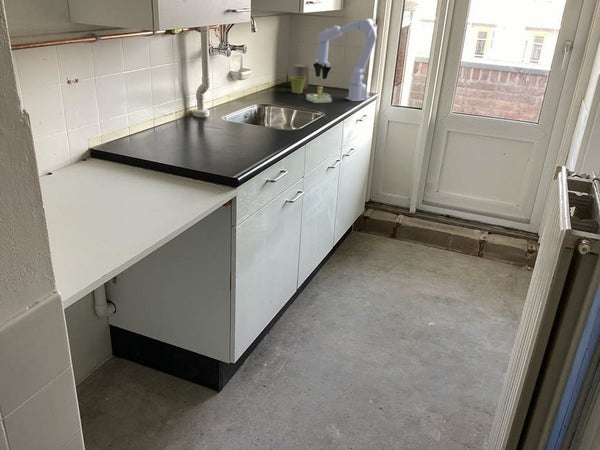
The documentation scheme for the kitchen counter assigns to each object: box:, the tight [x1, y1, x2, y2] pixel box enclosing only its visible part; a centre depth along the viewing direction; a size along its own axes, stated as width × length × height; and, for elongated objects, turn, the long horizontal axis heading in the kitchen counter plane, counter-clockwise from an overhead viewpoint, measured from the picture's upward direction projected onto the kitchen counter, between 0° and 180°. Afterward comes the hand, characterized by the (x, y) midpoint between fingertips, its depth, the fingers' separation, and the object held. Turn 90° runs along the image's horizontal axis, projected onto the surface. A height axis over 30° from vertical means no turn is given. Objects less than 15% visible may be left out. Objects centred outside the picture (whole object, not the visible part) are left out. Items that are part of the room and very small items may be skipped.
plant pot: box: [289, 76, 306, 95], centre depth 314 cm, size 9×9×9 cm
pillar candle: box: [292, 63, 310, 90], centre depth 327 cm, size 10×10×15 cm
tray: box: [305, 95, 333, 104], centre depth 298 cm, size 11×9×2 cm
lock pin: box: [316, 86, 324, 99], centre depth 297 cm, size 3×3×7 cm
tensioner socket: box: [322, 92, 332, 99], centre depth 309 cm, size 6×6×2 cm
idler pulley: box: [305, 93, 317, 96], centre depth 306 cm, size 7×7×2 cm
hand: (321, 77), depth 310 cm, fingers open, 7 cm apart
